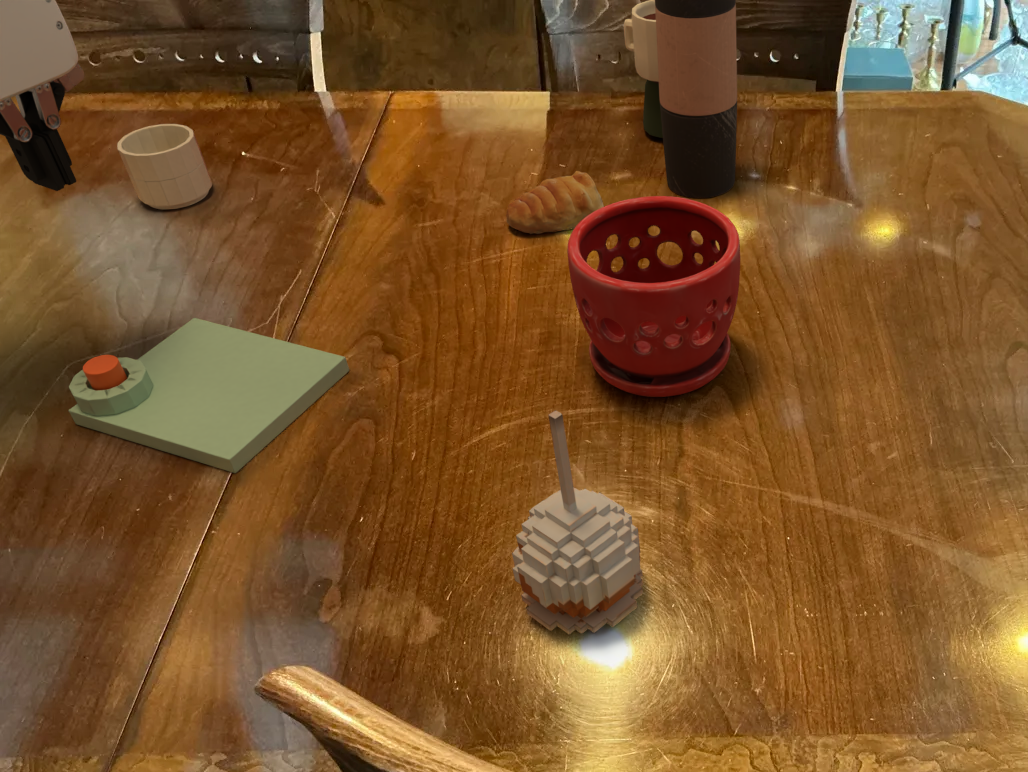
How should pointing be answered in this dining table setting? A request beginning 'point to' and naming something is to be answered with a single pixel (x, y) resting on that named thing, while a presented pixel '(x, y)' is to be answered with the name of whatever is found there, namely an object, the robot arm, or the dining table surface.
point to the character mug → (646, 61)
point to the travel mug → (698, 94)
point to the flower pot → (656, 294)
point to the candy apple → (577, 554)
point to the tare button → (104, 372)
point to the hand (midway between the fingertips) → (54, 182)
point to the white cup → (165, 166)
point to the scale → (209, 393)
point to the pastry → (555, 204)
